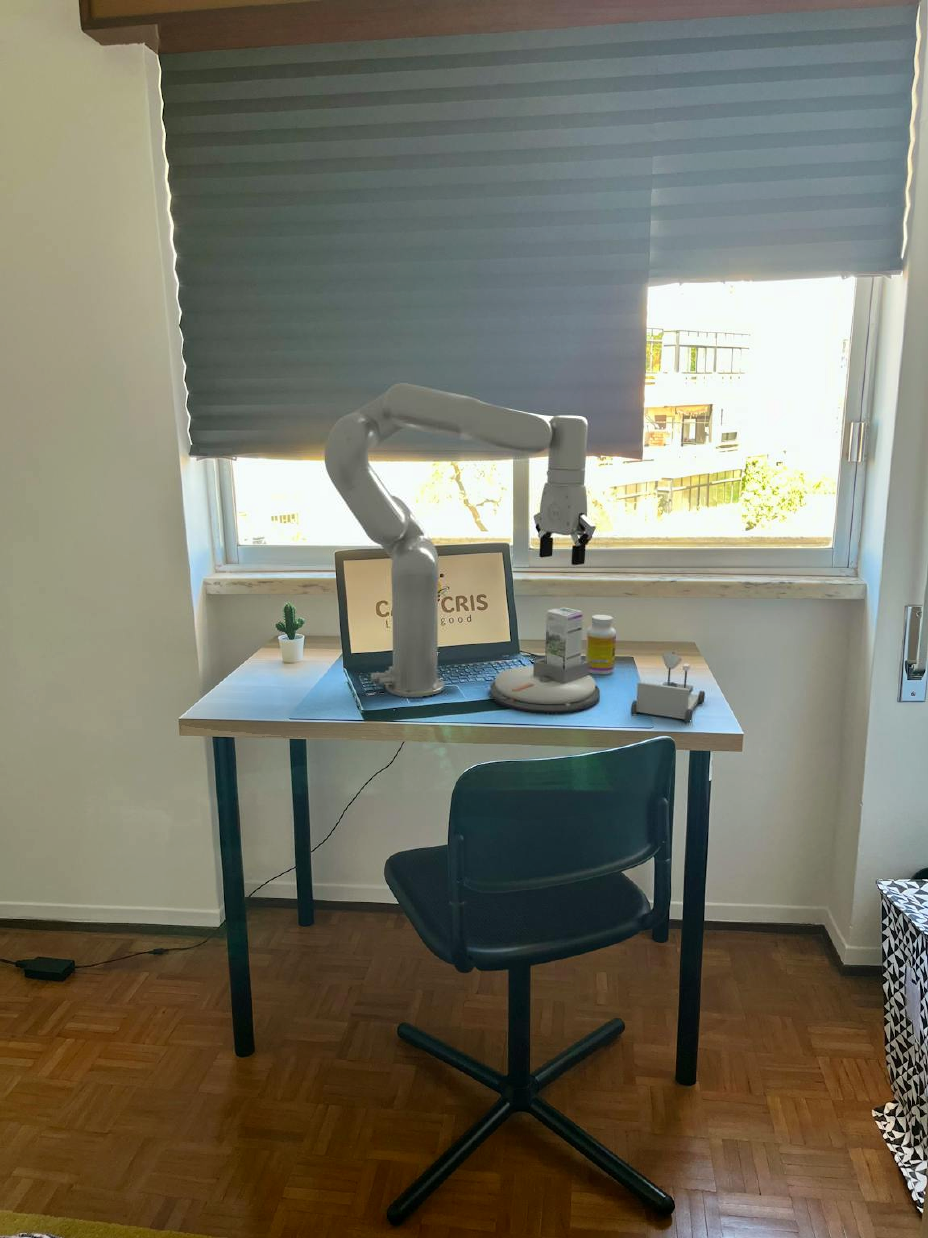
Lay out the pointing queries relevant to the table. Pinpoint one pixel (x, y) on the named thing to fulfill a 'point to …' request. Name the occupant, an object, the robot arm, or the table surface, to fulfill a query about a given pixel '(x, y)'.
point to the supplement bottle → (601, 645)
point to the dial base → (545, 708)
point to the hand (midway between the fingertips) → (561, 560)
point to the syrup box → (563, 637)
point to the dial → (546, 683)
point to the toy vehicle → (667, 695)
